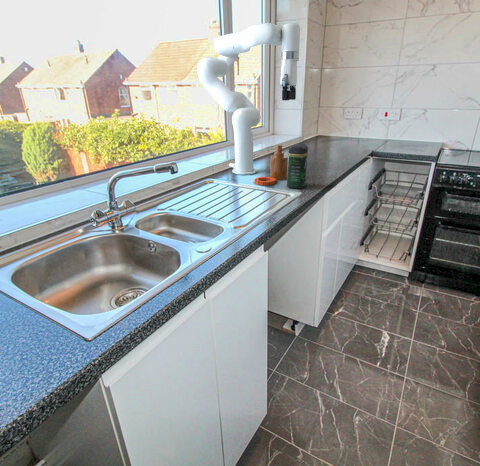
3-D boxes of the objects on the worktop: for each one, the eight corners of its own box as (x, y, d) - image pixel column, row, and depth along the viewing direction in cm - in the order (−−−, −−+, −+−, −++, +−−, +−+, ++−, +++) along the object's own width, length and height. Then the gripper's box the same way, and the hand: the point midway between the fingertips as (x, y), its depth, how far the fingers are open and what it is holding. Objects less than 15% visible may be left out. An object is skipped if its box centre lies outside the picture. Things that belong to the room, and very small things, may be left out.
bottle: (267, 179, 159) (267, 145, 153) (273, 175, 166) (274, 143, 160) (283, 181, 156) (284, 146, 149) (289, 177, 163) (290, 144, 156)
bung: (251, 184, 152) (251, 180, 151) (259, 179, 160) (259, 175, 159) (270, 186, 148) (271, 182, 147) (278, 181, 156) (278, 177, 155)
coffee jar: (302, 190, 142) (305, 146, 135) (285, 188, 145) (286, 145, 137) (307, 184, 150) (309, 142, 143) (290, 183, 153) (292, 142, 145)
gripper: (287, 59, 151) (286, 99, 157) (275, 56, 136) (274, 100, 143) (303, 58, 148) (302, 99, 155) (292, 55, 133) (291, 100, 140)
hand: (288, 100), depth 149 cm, fingers open, 9 cm apart
